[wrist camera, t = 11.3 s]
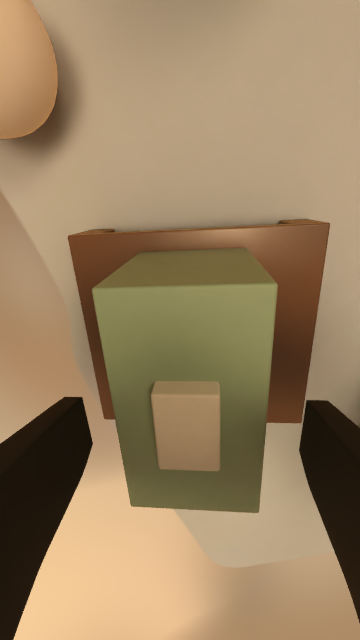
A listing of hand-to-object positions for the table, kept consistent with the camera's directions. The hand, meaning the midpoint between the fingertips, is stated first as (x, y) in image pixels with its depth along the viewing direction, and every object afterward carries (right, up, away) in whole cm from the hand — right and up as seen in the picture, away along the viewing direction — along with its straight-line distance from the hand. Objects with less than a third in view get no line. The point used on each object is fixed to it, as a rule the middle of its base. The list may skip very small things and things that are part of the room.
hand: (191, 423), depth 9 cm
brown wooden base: (+1, +3, +8) cm, 9 cm away
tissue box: (0, +2, +5) cm, 6 cm away
